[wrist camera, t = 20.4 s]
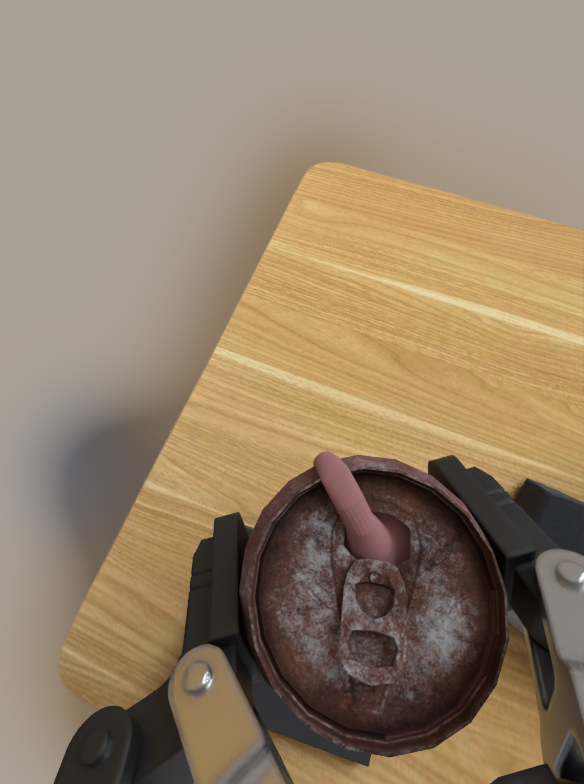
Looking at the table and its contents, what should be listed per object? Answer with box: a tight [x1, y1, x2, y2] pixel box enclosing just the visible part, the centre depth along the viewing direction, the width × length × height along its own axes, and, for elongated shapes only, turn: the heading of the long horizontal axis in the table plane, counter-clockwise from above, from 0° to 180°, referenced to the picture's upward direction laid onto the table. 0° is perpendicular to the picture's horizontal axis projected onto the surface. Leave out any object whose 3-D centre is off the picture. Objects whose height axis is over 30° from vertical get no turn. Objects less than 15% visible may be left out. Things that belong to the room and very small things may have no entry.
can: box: [239, 451, 509, 757], centre depth 14 cm, size 6×6×14 cm
